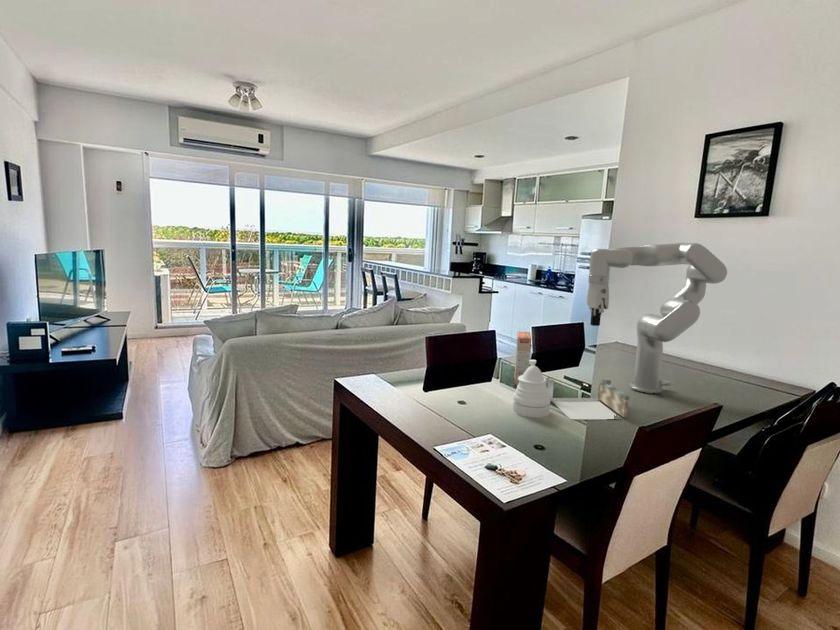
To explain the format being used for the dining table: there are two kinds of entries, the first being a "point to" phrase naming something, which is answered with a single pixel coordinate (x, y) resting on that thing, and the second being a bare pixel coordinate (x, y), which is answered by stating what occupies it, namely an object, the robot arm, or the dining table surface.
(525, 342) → the cracker box
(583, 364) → the dining table surface
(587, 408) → the mat
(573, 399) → the gate frame
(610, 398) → the gate
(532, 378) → the honey pot
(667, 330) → the robot arm
